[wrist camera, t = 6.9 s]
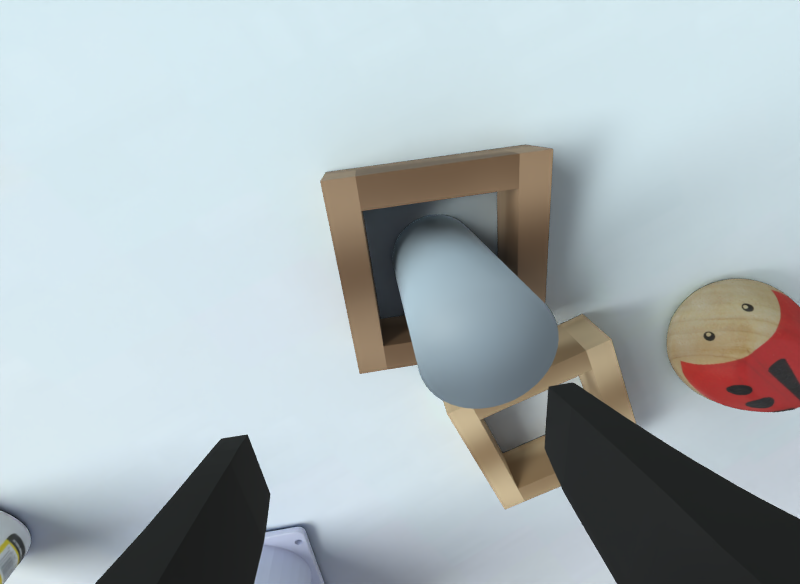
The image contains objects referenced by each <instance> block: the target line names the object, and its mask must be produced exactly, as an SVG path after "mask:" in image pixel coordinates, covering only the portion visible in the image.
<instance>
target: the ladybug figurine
mask: <svg viewBox="0 0 800 584" xmlns="http://www.w3.org/2000/svg"><path fill="white" fill-rule="evenodd" d="M667 353H668V357H669V360H670V363H671V365H672V367H673V369H674V370H675V372H676V373H677V375H678V376H679V377H680V378H681V380H682V381H683V382H684V383H685V384H686V385H687V386H689V387H690V388H691V389H692V390H694V391H695V392H696V393H698V394H700V395H702V396H704V397H706V398H708V399H710V400H712V401H715V402H717V403H720V404H723V405H725V406H729V407H732V408H737V409H742V410H748V411H758V412H781V411H786V410H793V409H795V408H798V407H800V307H799V306H798V305H797V304H796V303H795V302H794V301H793V300H792V299H790V298H789V297H788V296H787V295H785V294H784V293H783V292H781V291H779V290H777V289H776V288H774V287H772V286H770V285H767V284H765V283H762V282H758V281H754V280H748V279H728V280H722V281H718V282H714V283H711V284H709V285H706V286H704V287H702V288H700V289H698V290H697V291H695V292H694V293H693V294H691V295H690V296H689V297H688V298H687V299H686V300H685V301H684V302H683V303H682V304H681V305H680V306H679V307H678V309H677V310H676V312H675V313H674V315H673V317H672V319H671V321H670V325H669V328H668V333H667Z"/></svg>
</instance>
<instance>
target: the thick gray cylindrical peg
mask: <svg viewBox="0 0 800 584" xmlns="http://www.w3.org/2000/svg"><path fill="white" fill-rule="evenodd" d="M392 261H393V267H394V272H395V276H396V280H397V284H398V288H399V292H400V296H401V300H402V304H403V308H404V312H405V316H406V320H407V324H408V328H409V332H410V336H411V340H412V345H413V349H414V353H415V357H416V361H417V365H418V369H419V373H420V375H421V378H422V380H423V381H424V383H425V385H426V386H427V387H428V389H429V390H430V391H431V392H432V393H433V394H434V395H435V396H437V397H438V398H440V399H441V400H443V401H445V402H447V403H449V404H452V405H455V406H458V407H463V408H471V409H482V408H490V407H495V406H499V405H502V404H505V403H508V402H510V401H512V400H515V399H517V398H518V397H520V396H522V395H523V394H525V393H526V392H528V391H529V390H530V389H532V388H533V387H534V386H535V385H536V384H537V383H538V382H539V381H540V380H541V379H542V378H543V377H544V375H545V374H546V373H547V371H548V370H549V368H550V366H551V365H552V363H553V360H554V358H555V355H556V352H557V348H558V341H559V336H558V327H557V323H556V320H555V317H554V316H553V314H552V312H551V310H550V309H549V308H548V306H547V305H546V304H545V303H544V302H543V301H542V300H541V299H540V298H539V297H538V296H537V295H536V294H535V293H534V292H533V291H532V290H531V289H530V288H529V287H528V286H527V285H526V284H525V283H524V282H522V281H521V280H520V279H519V278H518V277H517V276H516V275H515V274H514V273H513V272H512V271H511V270H510V269H509V268H508V267H507V266H506V265H505V264H504V263H503V262H502V261H501V260H500V259H499V258H498V257H497V256H496V255H495V254H494V253H493V252H492V251H491V250H490V249H489V248H488V247H487V246H486V245H485V244H484V243H483V242H482V241H481V240H480V239H479V238H478V237H476V236H475V235H474V234H473V233H472V232H471V231H470V230H469V229H468V228H467V227H466V226H465V225H464V224H463V223H462V222H460V221H459V220H457V219H455V218H453V217H450V216H446V215H429V216H425V217H422V218H419V219H417V220H415V221H414V222H412V223H411V224H409V225H408V226H407V227H406V228H405V229H404V230H403V231H402V232H401V234H400V235H399V237H398V238H397V240H396V242H395V245H394V248H393V254H392Z"/></svg>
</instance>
